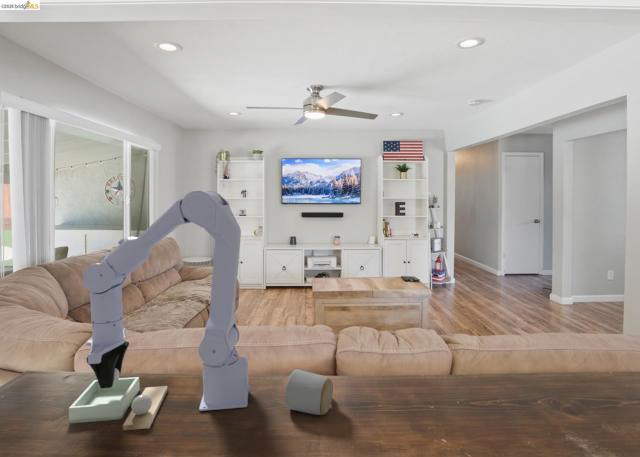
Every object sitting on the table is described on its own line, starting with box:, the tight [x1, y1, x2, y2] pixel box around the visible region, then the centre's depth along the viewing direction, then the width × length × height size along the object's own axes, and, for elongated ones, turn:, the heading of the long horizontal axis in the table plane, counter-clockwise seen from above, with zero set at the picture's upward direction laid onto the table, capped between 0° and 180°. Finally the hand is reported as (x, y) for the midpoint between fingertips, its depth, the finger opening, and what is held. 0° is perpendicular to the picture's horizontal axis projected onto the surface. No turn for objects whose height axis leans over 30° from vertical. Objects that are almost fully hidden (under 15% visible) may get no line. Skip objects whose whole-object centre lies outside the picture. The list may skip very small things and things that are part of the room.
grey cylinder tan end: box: [284, 368, 334, 416], centre depth 77 cm, size 11×8×8 cm
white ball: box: [113, 368, 121, 384], centre depth 79 cm, size 4×4×4 cm
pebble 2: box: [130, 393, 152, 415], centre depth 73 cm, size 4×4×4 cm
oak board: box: [122, 385, 169, 431], centre depth 77 cm, size 5×14×1 cm, turn 9°
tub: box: [68, 376, 141, 424], centre depth 78 cm, size 9×11×3 cm
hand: (110, 382), depth 79 cm, fingers closed on white ball, 3 cm apart
